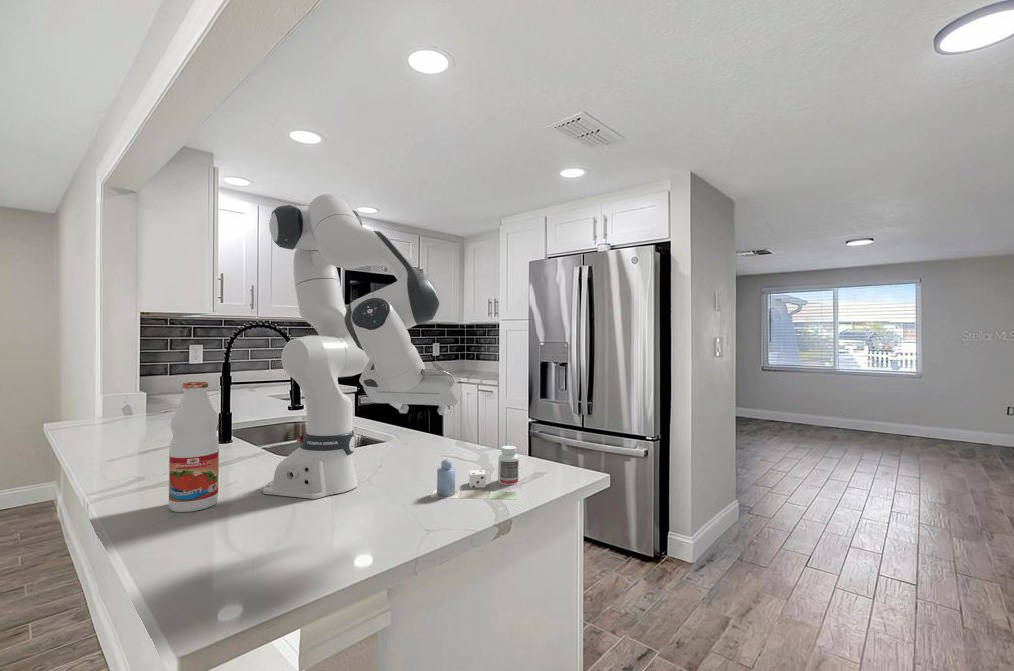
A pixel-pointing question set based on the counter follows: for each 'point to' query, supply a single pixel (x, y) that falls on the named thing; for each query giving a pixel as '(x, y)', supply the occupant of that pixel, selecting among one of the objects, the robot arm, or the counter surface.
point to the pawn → (446, 479)
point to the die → (477, 478)
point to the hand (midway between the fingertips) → (424, 411)
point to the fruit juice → (194, 451)
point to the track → (480, 495)
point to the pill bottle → (508, 466)
